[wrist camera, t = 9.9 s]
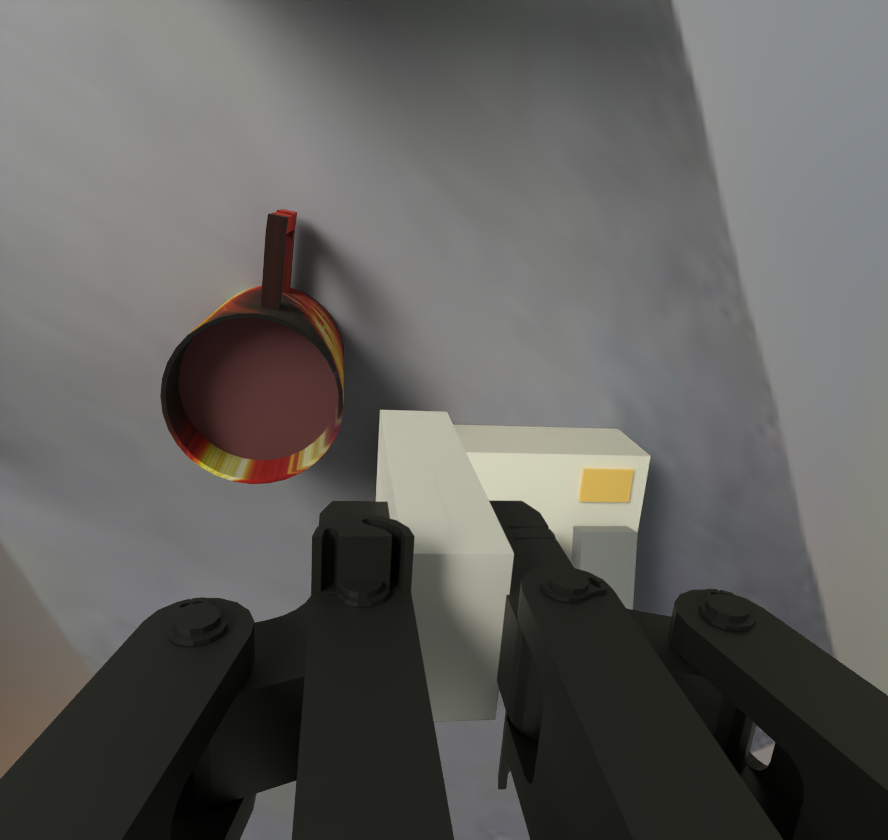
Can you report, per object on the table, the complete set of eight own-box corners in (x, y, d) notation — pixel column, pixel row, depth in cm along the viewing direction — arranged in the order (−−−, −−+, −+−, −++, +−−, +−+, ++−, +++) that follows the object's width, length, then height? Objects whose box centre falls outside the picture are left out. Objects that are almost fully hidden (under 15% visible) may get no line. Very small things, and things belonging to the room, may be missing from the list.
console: (388, 422, 51) (394, 454, 45) (618, 428, 54) (654, 459, 48) (377, 631, 57) (381, 686, 50) (588, 627, 59) (617, 679, 53)
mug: (295, 205, 46) (279, 208, 35) (362, 395, 51) (367, 452, 39) (155, 249, 46) (92, 266, 34) (235, 436, 50) (203, 506, 39)
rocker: (573, 526, 49) (582, 532, 47) (626, 526, 50) (638, 532, 48) (567, 635, 50) (576, 646, 48) (620, 634, 50) (631, 645, 48)
